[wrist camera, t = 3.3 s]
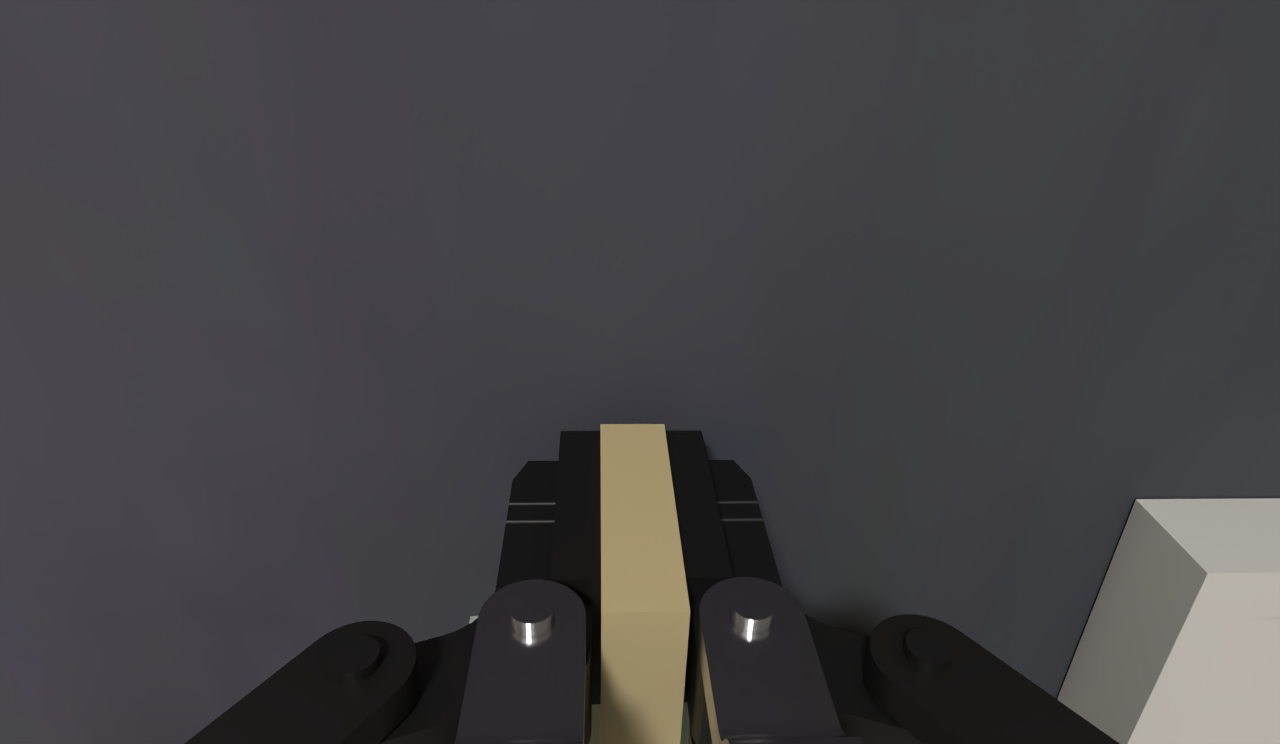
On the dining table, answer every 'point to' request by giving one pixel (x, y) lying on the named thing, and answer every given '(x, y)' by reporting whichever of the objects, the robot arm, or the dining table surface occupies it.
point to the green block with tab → (640, 593)
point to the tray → (1186, 627)
